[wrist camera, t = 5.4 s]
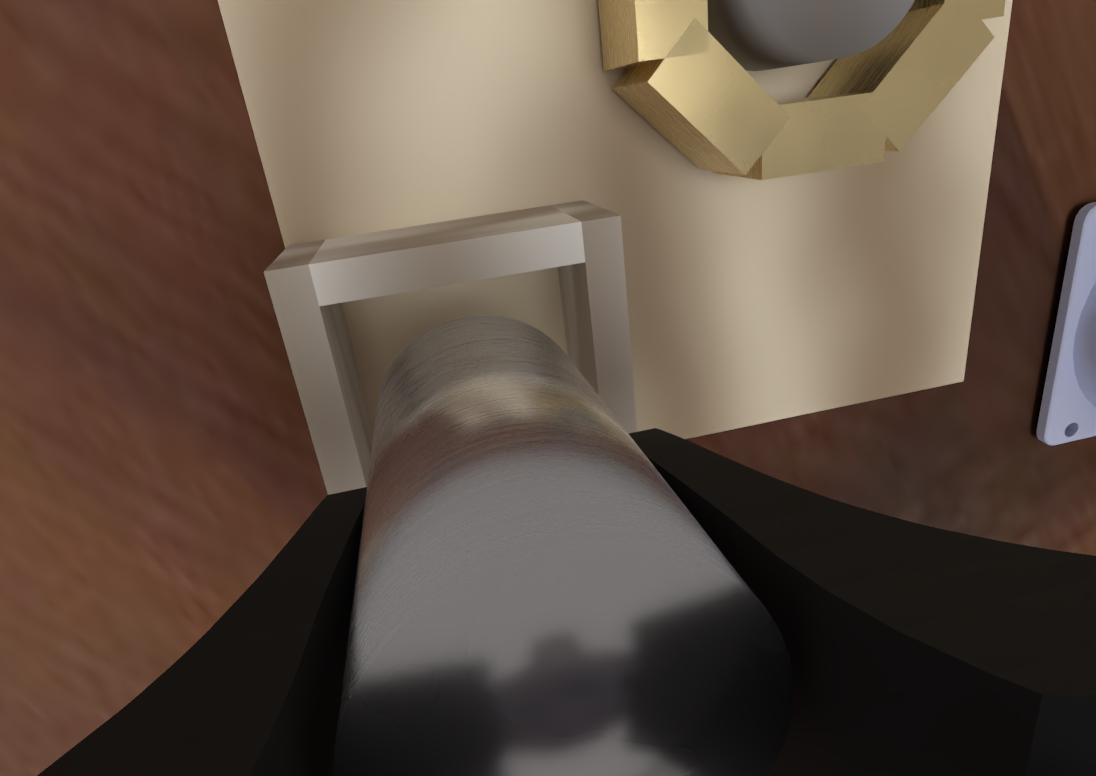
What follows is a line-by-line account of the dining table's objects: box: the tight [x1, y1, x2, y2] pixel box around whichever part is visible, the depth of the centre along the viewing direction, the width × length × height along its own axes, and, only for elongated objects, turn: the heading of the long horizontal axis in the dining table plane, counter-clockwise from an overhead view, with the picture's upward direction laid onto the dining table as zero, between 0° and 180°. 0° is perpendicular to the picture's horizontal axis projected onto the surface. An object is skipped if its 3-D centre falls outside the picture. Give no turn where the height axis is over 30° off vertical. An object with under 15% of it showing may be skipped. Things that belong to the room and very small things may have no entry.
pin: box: [333, 315, 793, 776], centre depth 8 cm, size 4×4×7 cm
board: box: [218, 0, 1012, 495], centre depth 14 cm, size 18×19×4 cm
